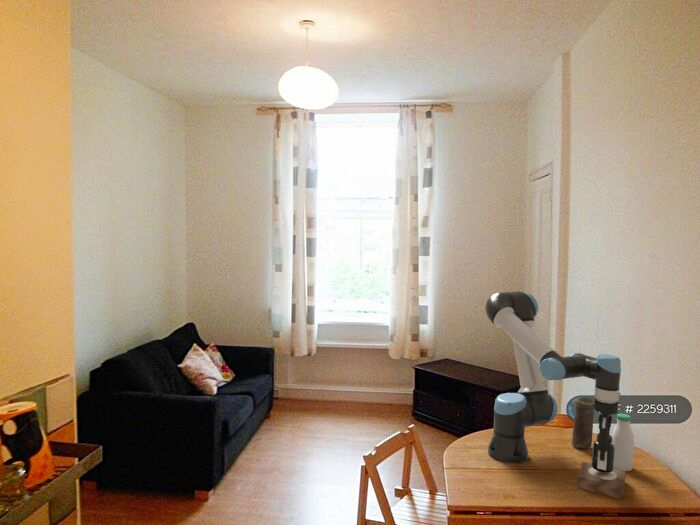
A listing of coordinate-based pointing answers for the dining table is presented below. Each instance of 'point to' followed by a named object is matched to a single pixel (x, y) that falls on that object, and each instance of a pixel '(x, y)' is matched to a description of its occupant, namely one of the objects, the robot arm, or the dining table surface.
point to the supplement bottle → (609, 455)
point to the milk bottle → (623, 443)
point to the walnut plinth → (602, 481)
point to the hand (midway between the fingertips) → (602, 464)
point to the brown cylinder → (583, 423)
